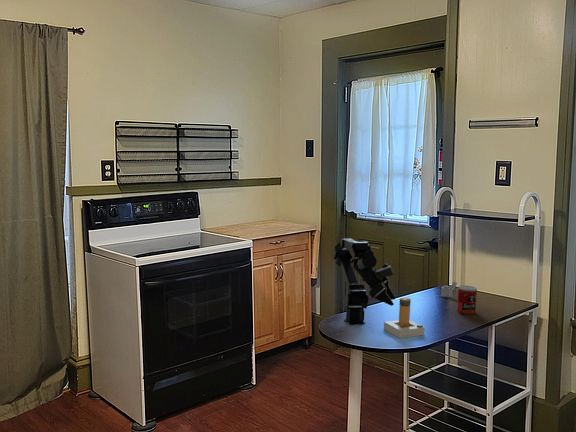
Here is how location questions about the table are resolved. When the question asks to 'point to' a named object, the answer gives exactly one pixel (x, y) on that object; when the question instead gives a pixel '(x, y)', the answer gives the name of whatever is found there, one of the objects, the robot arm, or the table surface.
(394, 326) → the socket block
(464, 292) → the canned food
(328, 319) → the table surface
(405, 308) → the plug
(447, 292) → the lighter
